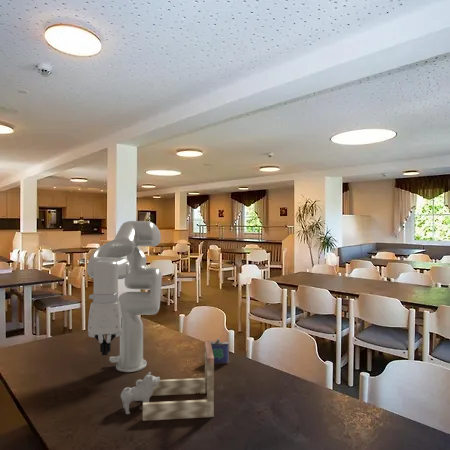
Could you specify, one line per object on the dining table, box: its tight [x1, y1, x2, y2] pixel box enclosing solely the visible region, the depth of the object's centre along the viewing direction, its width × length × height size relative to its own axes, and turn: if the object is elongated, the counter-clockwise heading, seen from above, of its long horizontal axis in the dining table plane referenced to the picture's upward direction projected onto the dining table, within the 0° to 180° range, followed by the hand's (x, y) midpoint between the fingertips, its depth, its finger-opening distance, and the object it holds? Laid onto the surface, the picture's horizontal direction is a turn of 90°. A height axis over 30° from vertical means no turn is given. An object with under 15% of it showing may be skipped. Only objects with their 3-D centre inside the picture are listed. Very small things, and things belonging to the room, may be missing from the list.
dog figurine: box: [120, 371, 161, 415], centre depth 115 cm, size 5×13×11 cm, turn 119°
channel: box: [142, 339, 215, 422], centre depth 116 cm, size 22×16×19 cm
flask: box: [211, 338, 230, 365], centre depth 150 cm, size 9×3×11 cm, turn 88°
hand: (105, 353), depth 113 cm, fingers closed
